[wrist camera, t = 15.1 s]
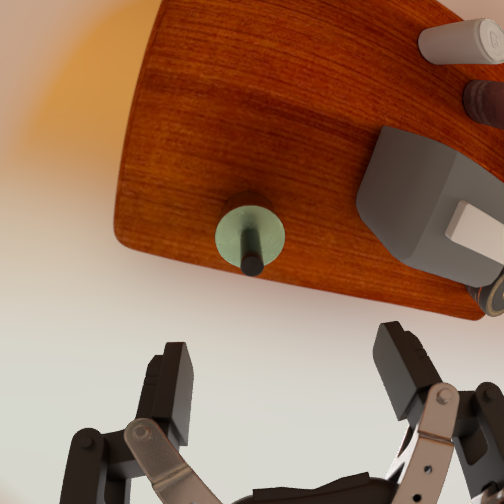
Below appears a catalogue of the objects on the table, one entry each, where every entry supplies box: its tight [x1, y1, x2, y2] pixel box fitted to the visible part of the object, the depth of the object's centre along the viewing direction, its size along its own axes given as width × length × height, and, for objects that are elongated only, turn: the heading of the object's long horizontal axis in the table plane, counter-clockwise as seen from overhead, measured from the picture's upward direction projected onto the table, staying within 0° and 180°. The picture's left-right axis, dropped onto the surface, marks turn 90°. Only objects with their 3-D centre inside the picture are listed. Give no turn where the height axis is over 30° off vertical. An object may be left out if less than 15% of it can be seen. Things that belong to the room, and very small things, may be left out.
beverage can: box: [418, 18, 504, 64], centre depth 21 cm, size 5×5×12 cm
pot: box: [220, 192, 275, 219], centre depth 34 cm, size 6×6×5 cm
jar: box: [465, 267, 504, 317], centre depth 38 cm, size 10×10×8 cm
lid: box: [215, 204, 285, 276], centre depth 29 cm, size 7×7×7 cm
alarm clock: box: [355, 126, 504, 288], centre depth 28 cm, size 16×11×16 cm
